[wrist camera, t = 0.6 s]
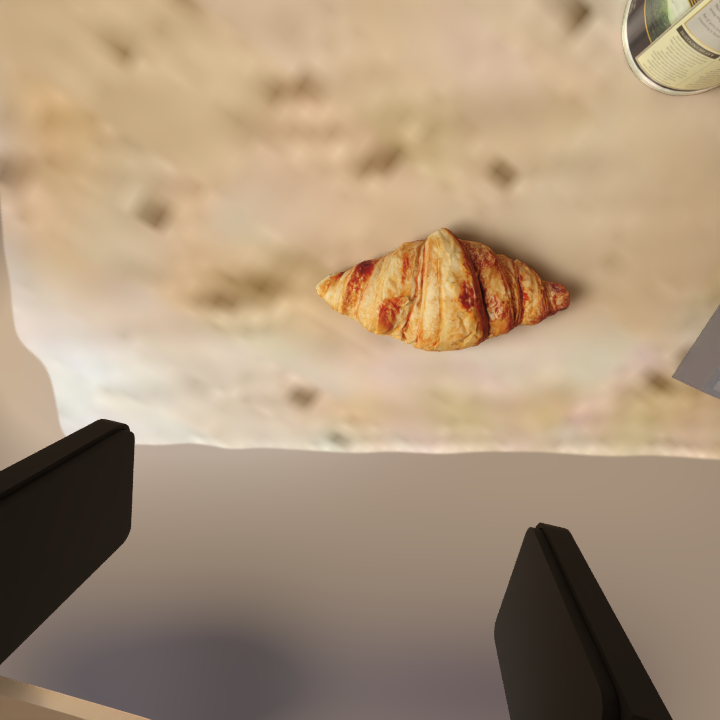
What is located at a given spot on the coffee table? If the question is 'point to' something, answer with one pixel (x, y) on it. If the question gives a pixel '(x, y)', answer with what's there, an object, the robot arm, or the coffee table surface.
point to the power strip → (703, 360)
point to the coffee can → (673, 44)
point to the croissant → (443, 293)
